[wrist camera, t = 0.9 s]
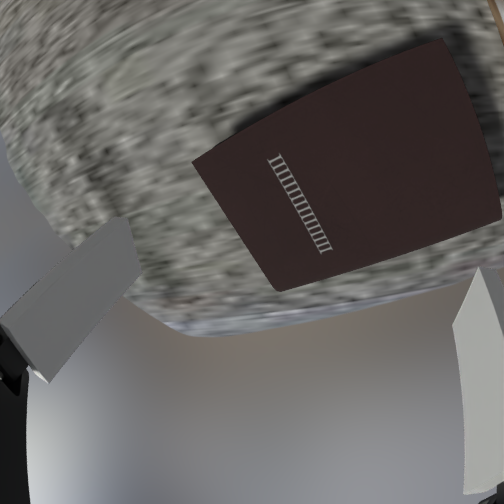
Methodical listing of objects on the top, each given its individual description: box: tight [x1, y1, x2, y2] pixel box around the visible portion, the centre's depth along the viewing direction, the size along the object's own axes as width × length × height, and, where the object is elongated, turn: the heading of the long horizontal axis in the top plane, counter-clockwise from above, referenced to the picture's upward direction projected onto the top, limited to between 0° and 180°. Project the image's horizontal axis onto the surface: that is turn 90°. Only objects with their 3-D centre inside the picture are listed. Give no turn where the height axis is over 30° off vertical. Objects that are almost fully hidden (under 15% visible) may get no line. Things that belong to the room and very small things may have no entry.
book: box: [192, 38, 502, 292], centre depth 31 cm, size 28×20×6 cm
